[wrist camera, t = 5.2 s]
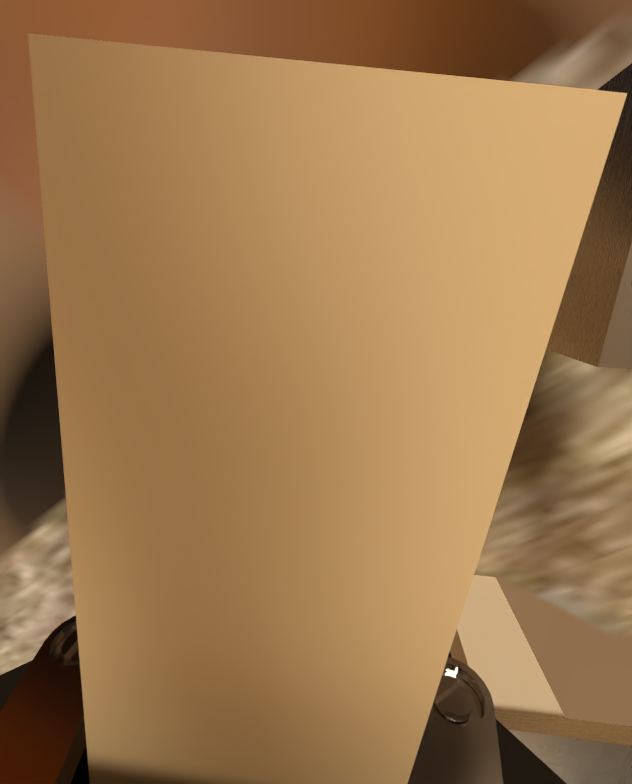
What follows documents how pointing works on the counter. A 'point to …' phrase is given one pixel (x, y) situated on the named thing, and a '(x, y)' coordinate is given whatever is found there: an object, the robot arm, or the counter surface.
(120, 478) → the rail
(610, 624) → the counter surface
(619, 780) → the bracket stand
